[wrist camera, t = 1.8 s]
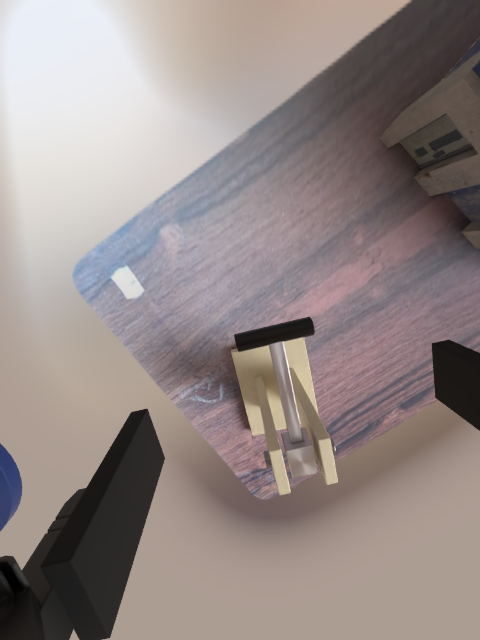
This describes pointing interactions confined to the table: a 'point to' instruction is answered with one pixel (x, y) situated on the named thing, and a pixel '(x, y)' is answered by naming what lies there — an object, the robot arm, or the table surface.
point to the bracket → (268, 410)
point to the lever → (285, 388)
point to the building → (447, 138)
